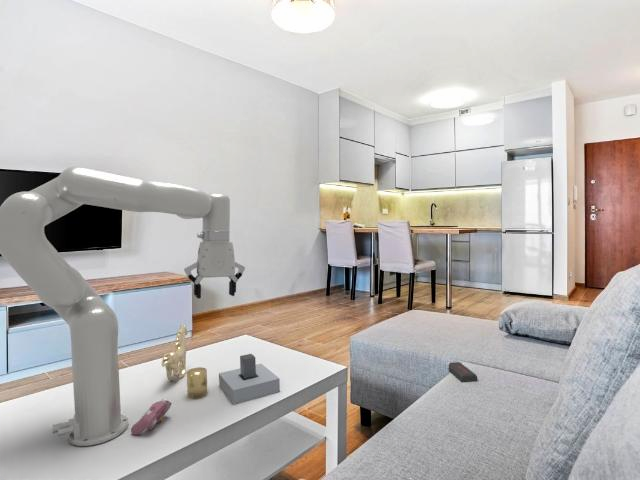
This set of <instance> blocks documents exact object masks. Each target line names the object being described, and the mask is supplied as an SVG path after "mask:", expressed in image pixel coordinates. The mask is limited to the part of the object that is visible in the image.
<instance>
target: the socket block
mask: <svg viewBox="0 0 640 480" xmlns="http://www.w3.org/2000/svg"><path fill="white" fill-rule="evenodd" d="M280 380H281V379H280V377H278V376H277V375H276V374H275V373H274V372H272V370H270V369H269V368H267V366H265V365H264V364H263V363H258V364H256V378H252V379H248V380H243V379H242V378H241V370H240V368H235V369H232V370H227V371H226V370H225V371H223V372H219V373H218V386H219V387H220V389H221V390H222V391H223V393H224V394H225V396H226V397H227V398H228V399H229V400H230V402H231V403H232V404H233V405H236V404H240V403H243V402H249V401H251V400H254V399H255V400H256V399H259V398H262V397H265V396H269V395H273V394H276V392H277V393H279V392H281V390H280V389H281V386H280V382H281V381H280Z"/></svg>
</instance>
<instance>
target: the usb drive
mask: <svg viewBox="0 0 640 480" xmlns="http://www.w3.org/2000/svg"><path fill="white" fill-rule="evenodd" d="M446 367H447V368H448V372H449V373H450V374H451V375H452V376H453V377H455V379H457V380H458V381H460V383H472V382H475V383H476V382H478V375H477V374H476V373H474V372H473V371H472V370H471V369H469V368H468V367H466V366H465V364H463V363H461V362H459V361H451V362H450V361H448V362H446Z"/></svg>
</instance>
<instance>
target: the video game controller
mask: <svg viewBox="0 0 640 480" xmlns="http://www.w3.org/2000/svg"><path fill="white" fill-rule="evenodd" d="M171 406H172V402H171V401H170V400H167V399H164V398H162V399H161V400H160V401H157V402H155V403H152V404H151V406H150V407H149V408H148V410H147V411H146V412H145V413H144V415H143V416H142V417H141V418H140V419H139V420H138V421H137V422H135V424H133V425H132V427H131V429H130V432H131V434H132V435H141V434H142V433H143V432H145V431H146V430H148V431H151V430H152V429H154V427H155V425H157V424H159V423H161V421H163V419H164V416H165V415H166V414H167V413H168V411H169V410H170V409H171ZM156 423H157V424H156Z"/></svg>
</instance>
